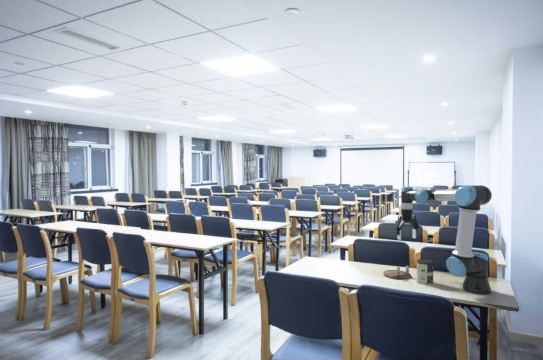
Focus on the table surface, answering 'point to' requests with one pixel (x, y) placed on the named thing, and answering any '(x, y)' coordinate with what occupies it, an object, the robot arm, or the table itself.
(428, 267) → the coffee can
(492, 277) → the table surface
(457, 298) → the table surface
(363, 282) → the table surface
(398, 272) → the locating disc
